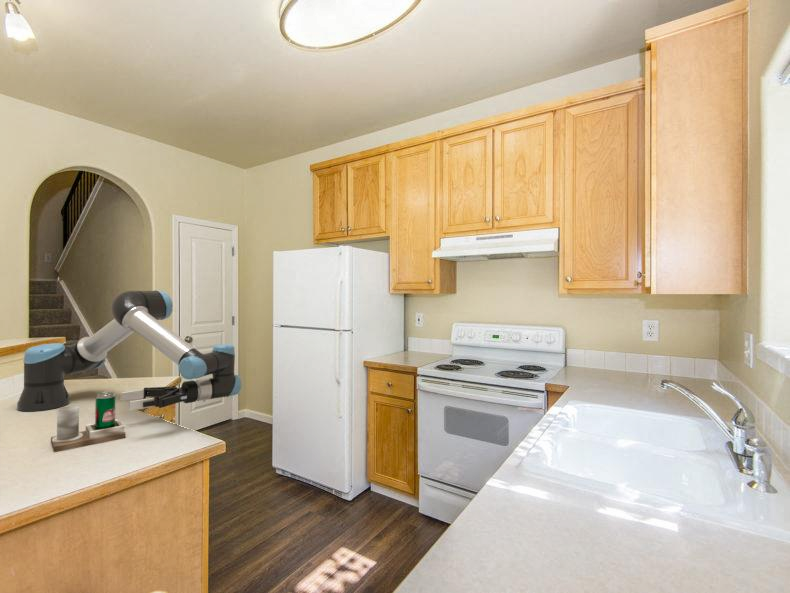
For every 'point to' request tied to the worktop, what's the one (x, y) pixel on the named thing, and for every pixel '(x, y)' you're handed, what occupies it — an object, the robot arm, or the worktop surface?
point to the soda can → (105, 410)
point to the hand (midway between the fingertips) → (124, 401)
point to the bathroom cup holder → (73, 438)
